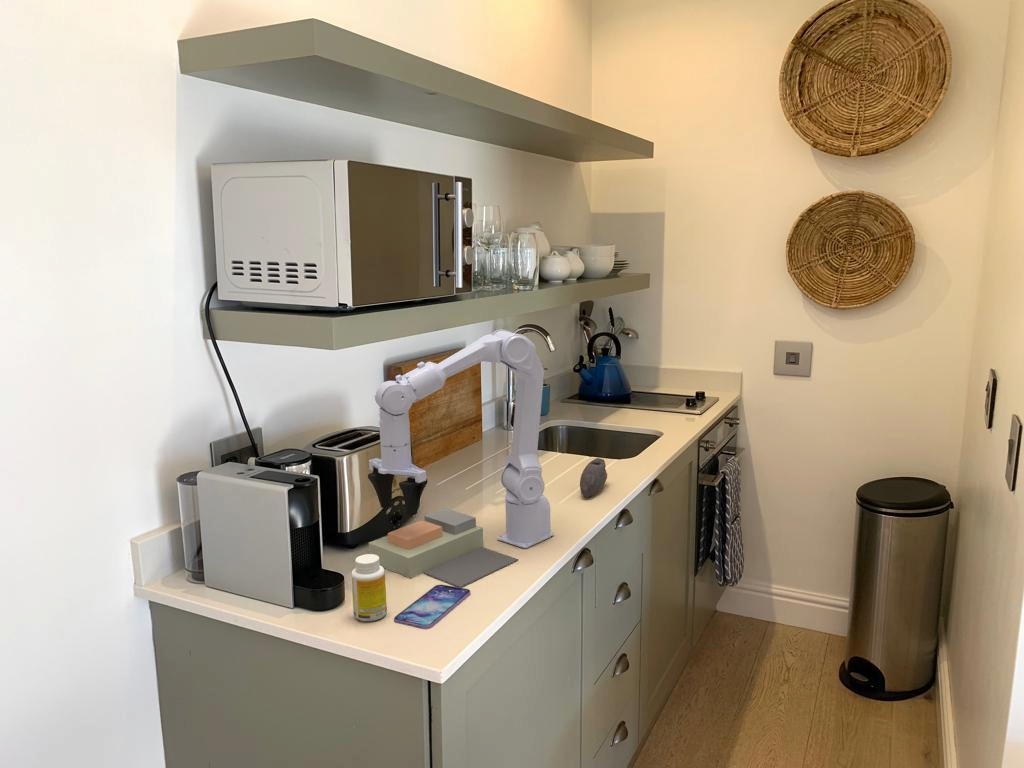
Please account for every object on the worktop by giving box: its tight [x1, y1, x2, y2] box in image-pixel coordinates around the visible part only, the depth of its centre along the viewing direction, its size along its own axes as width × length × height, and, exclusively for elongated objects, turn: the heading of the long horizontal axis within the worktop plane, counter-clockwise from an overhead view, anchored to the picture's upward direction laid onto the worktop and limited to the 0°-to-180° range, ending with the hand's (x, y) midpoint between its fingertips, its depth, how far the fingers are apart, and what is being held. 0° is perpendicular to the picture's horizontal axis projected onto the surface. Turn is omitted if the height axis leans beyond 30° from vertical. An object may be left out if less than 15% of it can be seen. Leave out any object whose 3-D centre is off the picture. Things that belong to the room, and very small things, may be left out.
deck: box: [368, 525, 484, 579], centre depth 160 cm, size 20×12×4 cm, turn 138°
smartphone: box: [393, 583, 471, 630], centre depth 138 cm, size 7×1×15 cm
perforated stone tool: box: [579, 457, 608, 498], centre depth 196 cm, size 15×5×7 cm, turn 157°
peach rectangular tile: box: [387, 519, 443, 550], centre depth 157 cm, size 9×6×2 cm, turn 138°
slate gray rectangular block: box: [423, 507, 477, 535], centre depth 164 cm, size 9×6×2 cm, turn 48°
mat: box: [423, 546, 519, 588], centre depth 154 cm, size 16×10×1 cm, turn 138°
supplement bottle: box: [350, 553, 388, 622], centre depth 134 cm, size 6×6×10 cm
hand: (398, 510), depth 156 cm, fingers open, 7 cm apart
